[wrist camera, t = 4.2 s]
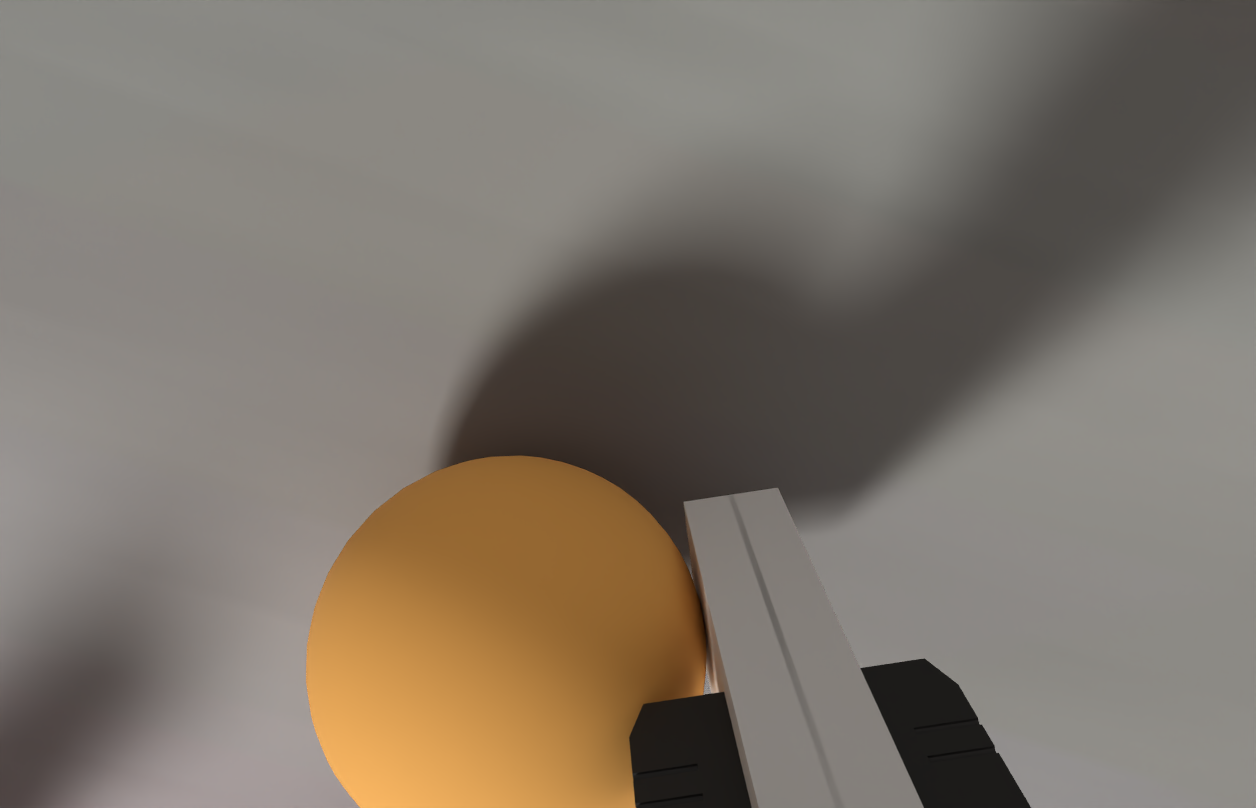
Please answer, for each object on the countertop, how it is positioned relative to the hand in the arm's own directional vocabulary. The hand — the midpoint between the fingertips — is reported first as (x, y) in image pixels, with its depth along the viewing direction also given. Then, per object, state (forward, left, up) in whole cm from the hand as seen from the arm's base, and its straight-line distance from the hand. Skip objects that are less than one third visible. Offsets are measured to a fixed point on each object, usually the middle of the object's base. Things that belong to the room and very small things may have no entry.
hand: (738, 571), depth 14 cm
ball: (-3, 0, +1) cm, 4 cm away
